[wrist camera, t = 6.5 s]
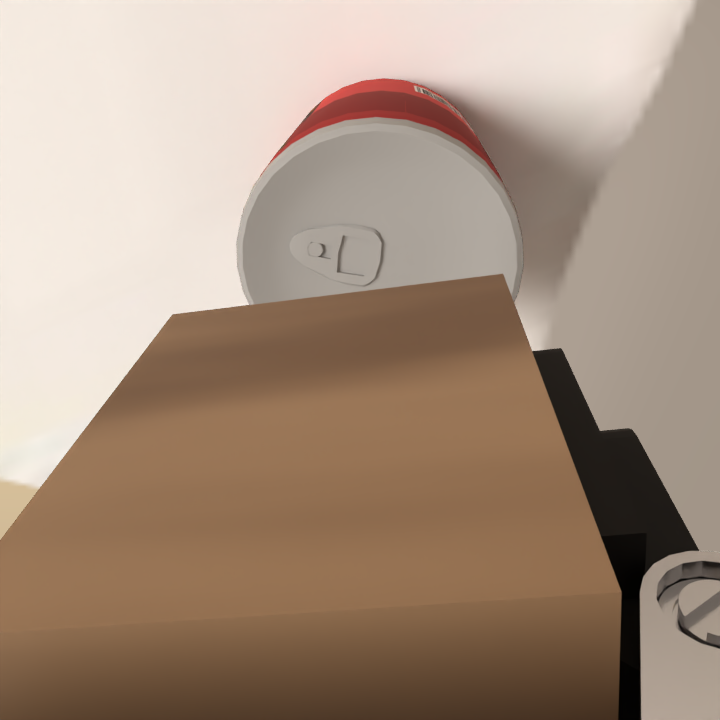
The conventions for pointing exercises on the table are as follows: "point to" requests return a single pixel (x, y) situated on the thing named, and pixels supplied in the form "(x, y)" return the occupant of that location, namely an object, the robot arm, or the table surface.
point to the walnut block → (317, 528)
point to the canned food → (377, 201)
